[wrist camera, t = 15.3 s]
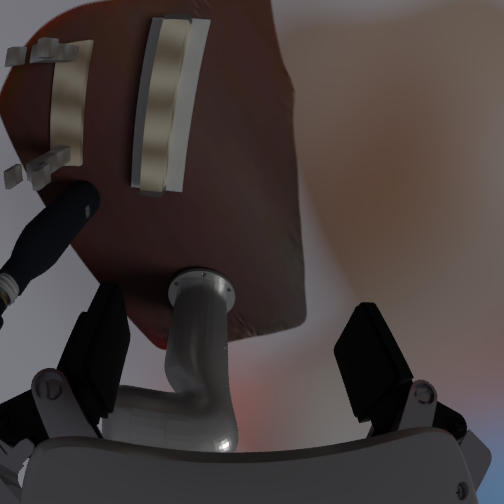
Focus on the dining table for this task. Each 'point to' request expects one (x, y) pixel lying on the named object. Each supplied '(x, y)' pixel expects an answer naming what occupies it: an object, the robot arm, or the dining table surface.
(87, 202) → the wine bottle
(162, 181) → the rail
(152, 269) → the dining table surface
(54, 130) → the rack
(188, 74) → the mat
